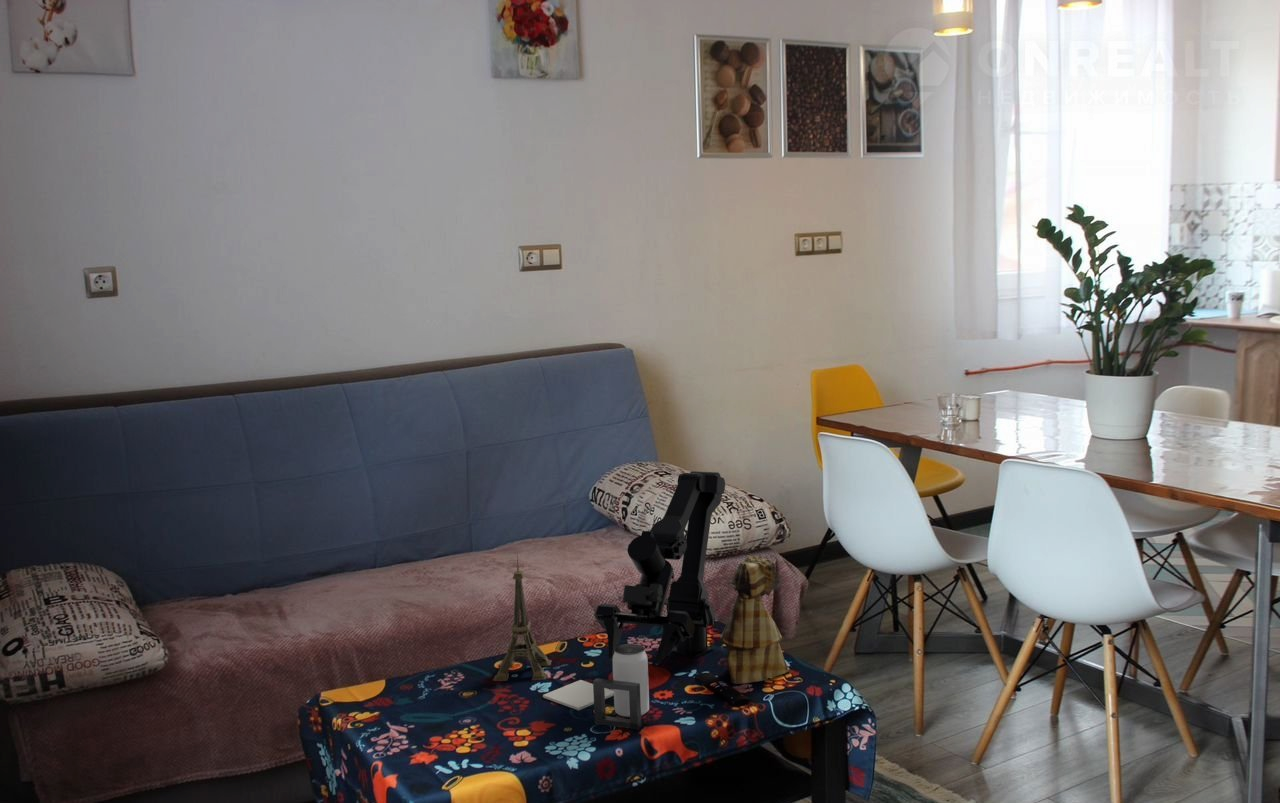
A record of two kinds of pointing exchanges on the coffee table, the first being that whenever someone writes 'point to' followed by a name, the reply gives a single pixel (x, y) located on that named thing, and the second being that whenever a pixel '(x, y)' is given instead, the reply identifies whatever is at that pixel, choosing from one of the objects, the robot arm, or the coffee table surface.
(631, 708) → the dark grey square frame
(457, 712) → the coffee table surface
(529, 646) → the eiffel tower
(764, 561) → the plush toy
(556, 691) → the pad
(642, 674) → the can
